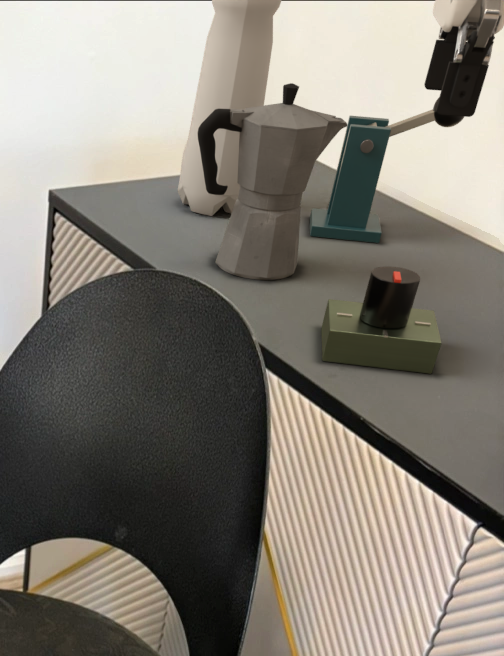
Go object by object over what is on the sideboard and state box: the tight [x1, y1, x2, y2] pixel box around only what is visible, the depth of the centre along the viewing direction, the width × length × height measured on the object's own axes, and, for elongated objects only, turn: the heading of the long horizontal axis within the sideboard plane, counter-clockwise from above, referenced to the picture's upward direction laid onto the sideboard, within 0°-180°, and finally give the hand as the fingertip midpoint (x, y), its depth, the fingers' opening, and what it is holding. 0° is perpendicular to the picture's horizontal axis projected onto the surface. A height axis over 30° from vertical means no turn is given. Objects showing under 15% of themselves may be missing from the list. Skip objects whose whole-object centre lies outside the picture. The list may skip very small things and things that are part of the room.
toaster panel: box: [320, 298, 442, 375], centre depth 106 cm, size 10×9×3 cm
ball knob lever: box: [367, 97, 465, 138], centre depth 125 cm, size 12×4×4 cm, turn 77°
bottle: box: [177, 0, 282, 217], centre depth 129 cm, size 9×9×30 cm
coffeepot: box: [197, 82, 348, 281], centre depth 118 cm, size 15×9×18 cm, turn 93°
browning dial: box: [360, 265, 421, 329], centre depth 104 cm, size 4×4×4 cm
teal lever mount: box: [309, 115, 391, 244], centre depth 130 cm, size 8×7×12 cm
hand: (447, 101), depth 101 cm, fingers open, 9 cm apart
